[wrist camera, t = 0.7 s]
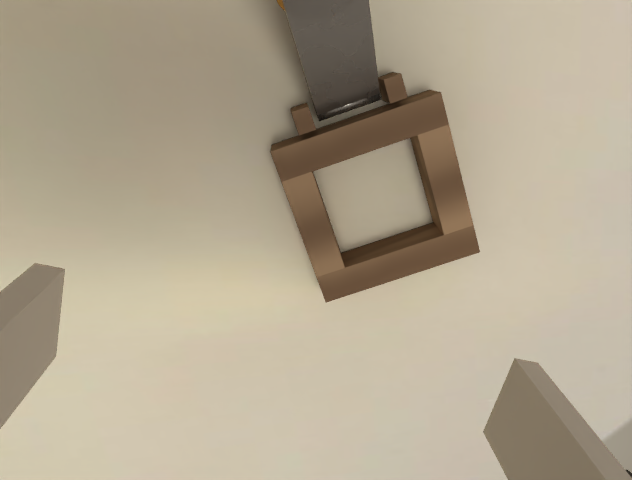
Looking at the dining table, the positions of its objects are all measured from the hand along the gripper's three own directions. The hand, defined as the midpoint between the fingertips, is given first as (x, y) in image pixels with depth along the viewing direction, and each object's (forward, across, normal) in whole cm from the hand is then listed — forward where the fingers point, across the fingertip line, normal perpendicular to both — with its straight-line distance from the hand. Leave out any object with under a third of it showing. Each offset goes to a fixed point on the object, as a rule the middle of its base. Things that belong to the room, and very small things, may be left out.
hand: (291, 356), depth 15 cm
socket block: (+25, +7, 0) cm, 26 cm away
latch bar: (+19, 0, +10) cm, 22 cm away
